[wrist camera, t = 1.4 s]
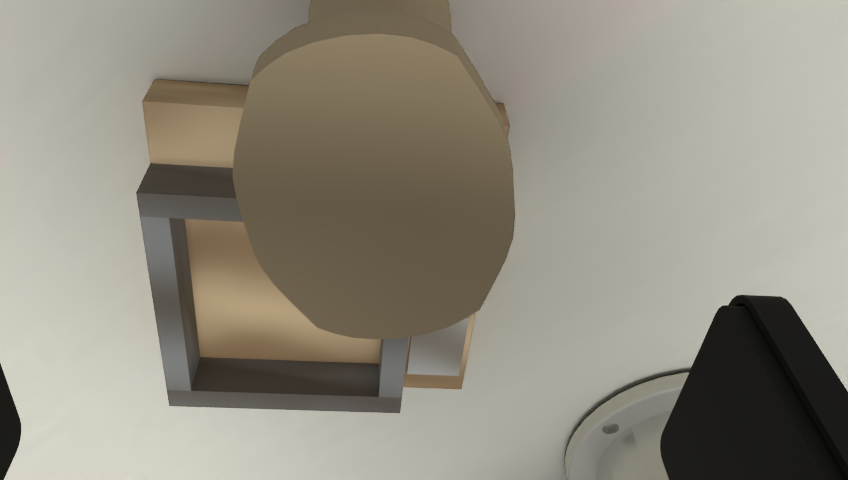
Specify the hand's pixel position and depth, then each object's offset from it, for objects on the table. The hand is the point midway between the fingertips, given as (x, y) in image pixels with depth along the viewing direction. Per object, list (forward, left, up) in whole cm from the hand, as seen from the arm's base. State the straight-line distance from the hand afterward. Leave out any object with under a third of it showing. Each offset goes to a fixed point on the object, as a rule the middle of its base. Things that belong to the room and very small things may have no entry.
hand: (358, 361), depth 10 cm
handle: (0, 0, -19) cm, 19 cm away
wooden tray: (-12, +1, -19) cm, 23 cm away
